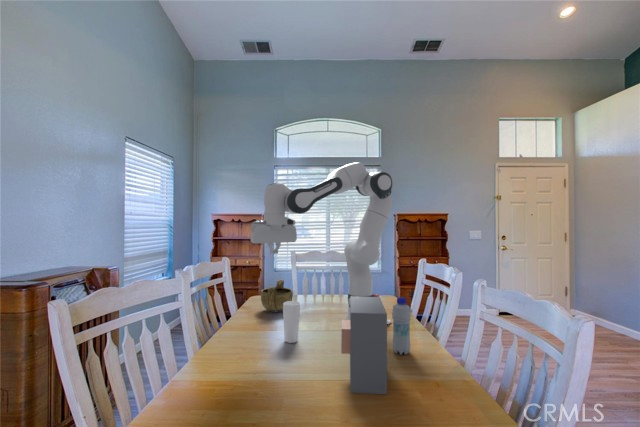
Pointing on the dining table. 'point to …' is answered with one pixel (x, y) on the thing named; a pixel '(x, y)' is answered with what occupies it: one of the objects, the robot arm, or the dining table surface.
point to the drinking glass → (291, 320)
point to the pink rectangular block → (345, 337)
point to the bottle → (401, 326)
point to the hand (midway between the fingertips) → (274, 253)
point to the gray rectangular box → (368, 345)
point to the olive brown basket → (276, 297)
